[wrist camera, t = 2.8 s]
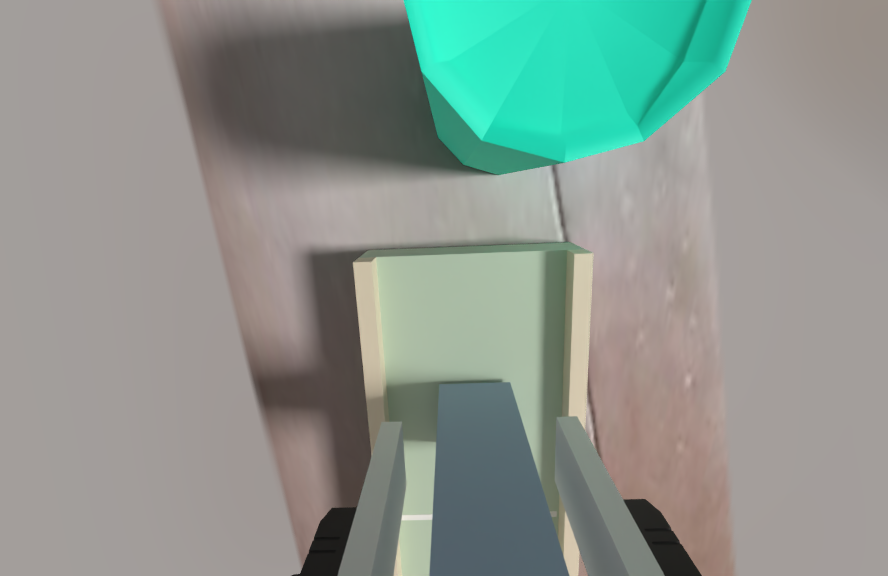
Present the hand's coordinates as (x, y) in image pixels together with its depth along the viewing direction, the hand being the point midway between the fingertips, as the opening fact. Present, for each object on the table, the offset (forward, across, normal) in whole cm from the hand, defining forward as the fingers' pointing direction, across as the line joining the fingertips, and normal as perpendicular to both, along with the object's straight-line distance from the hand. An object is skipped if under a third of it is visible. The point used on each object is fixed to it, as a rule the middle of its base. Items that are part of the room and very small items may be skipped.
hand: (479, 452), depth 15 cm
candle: (+5, +2, +13) cm, 14 cm away
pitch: (+5, 0, -6) cm, 7 cm away
